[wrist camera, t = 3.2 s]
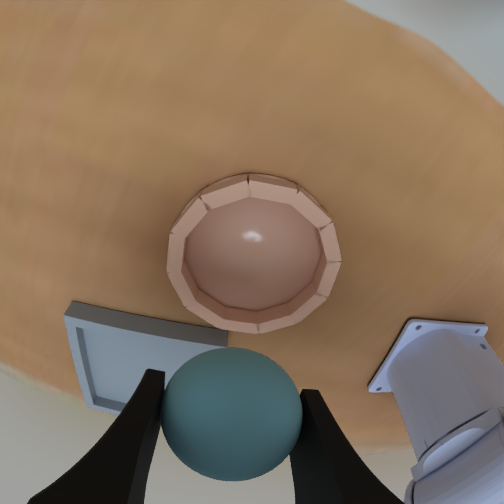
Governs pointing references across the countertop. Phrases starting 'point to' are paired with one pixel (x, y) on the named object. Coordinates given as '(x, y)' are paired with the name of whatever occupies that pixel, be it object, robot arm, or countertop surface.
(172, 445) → the ball
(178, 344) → the tray
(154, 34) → the countertop surface
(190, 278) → the dish
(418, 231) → the countertop surface
